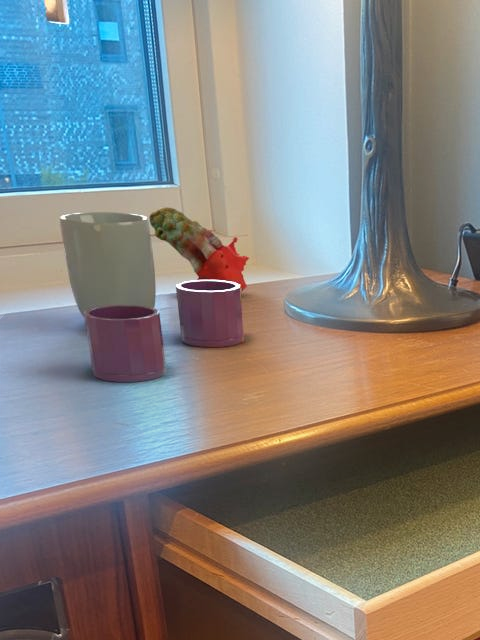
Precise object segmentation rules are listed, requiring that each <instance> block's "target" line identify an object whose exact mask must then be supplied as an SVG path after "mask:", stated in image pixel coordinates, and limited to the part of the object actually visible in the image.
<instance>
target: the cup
mask: <svg viewBox="0 0 480 640" xmlns="http://www.w3.org/2000/svg"><path fill="white" fill-rule="evenodd" d="M59 225H60V233H61V239H62V246H63V251H64V258H65V264H66V269H67V274H68V278H69V284H70V288H71V293H72V294H73V299H74V301H75V304H76V307H77V308H78V310H79V311H78V312H80V314H81V315H82V317H83V318H84V312H85V311H86V310H89V309H92V308H95V307H101V306H109V305H139V306H147V307H151V308H155V306H156V297H157V296H156V294H157V293H156V273H155V272H156V271H155V261H154V253H153V244H152V243H153V242H152V235H151V228H150V222H149V220H148V217H147V216H145V215H140V214H134V213H127V212H111V211H109V212H108V211H107V212H106V211H105V212H104V211H97V212H96V211H95V212H77V213H70V214H64V215H61V216H60V218H59Z"/></svg>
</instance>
